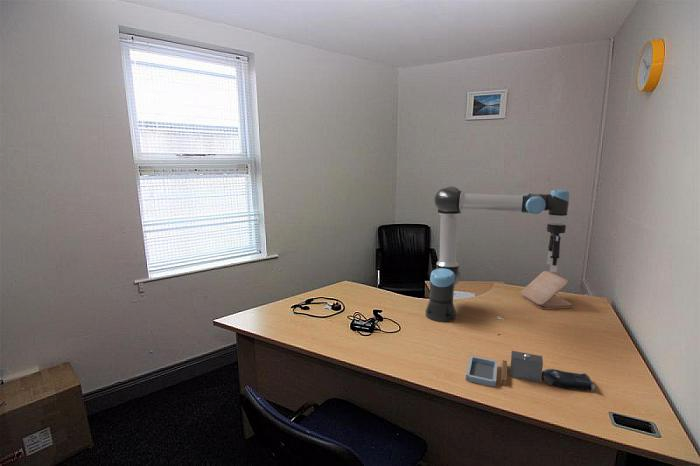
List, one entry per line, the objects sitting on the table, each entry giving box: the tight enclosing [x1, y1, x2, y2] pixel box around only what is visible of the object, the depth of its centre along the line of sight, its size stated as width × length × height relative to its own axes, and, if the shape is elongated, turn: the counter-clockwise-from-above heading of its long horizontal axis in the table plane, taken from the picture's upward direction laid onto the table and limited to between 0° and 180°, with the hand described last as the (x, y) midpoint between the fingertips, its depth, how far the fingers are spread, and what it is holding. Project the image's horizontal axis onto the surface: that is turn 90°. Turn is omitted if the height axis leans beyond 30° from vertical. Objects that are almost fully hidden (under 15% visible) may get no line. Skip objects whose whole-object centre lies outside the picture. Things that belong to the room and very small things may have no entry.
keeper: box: [465, 355, 499, 387], centre depth 134 cm, size 10×15×2 cm, turn 156°
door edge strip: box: [500, 360, 508, 386], centre depth 133 cm, size 2×14×2 cm, turn 156°
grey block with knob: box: [509, 350, 544, 384], centre depth 131 cm, size 10×5×9 cm, turn 66°
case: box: [520, 270, 575, 310], centre depth 201 cm, size 20×21×16 cm
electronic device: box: [541, 368, 596, 393], centre depth 128 cm, size 9×6×15 cm
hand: (551, 268), depth 171 cm, fingers open, 13 cm apart
